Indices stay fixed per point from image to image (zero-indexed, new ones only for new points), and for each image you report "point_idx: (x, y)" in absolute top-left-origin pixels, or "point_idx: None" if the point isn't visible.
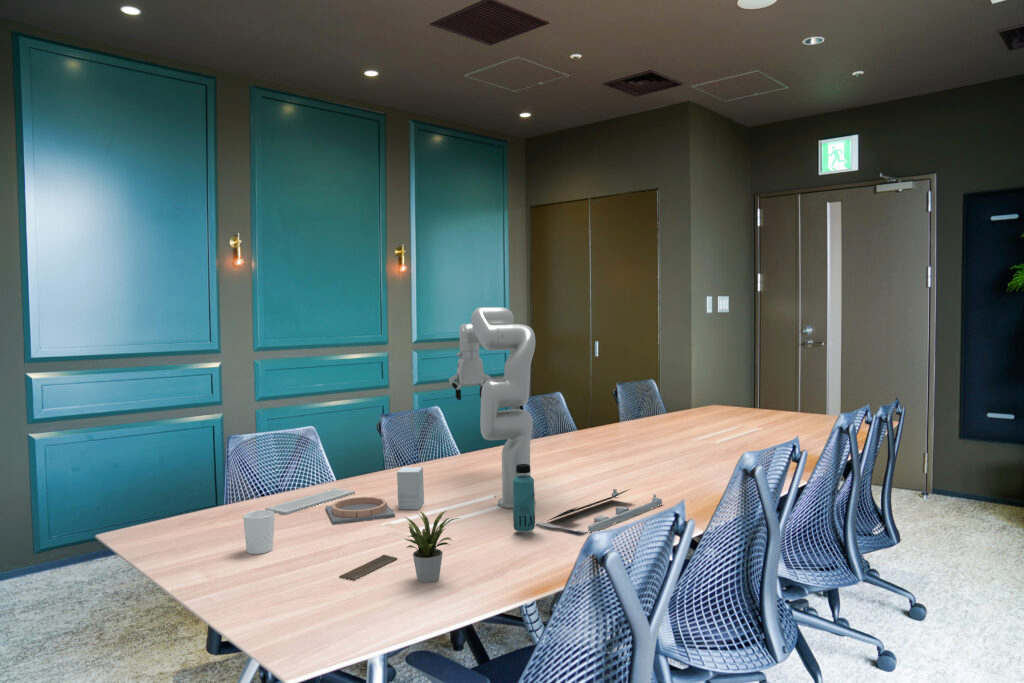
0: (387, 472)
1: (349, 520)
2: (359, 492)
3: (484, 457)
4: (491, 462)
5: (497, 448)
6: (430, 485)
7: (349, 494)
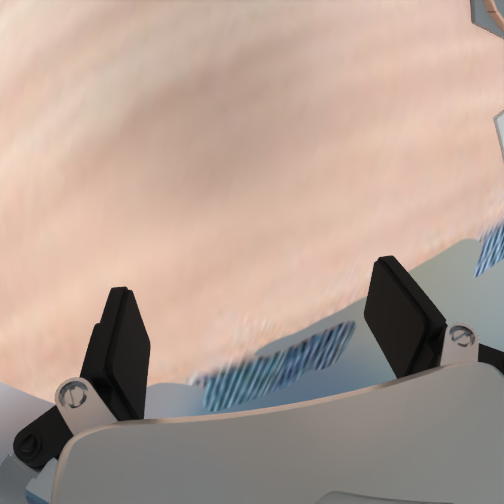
0: None
1: None
2: (486, 124)
3: None
4: None
5: None
6: (360, 94)
7: (502, 112)
